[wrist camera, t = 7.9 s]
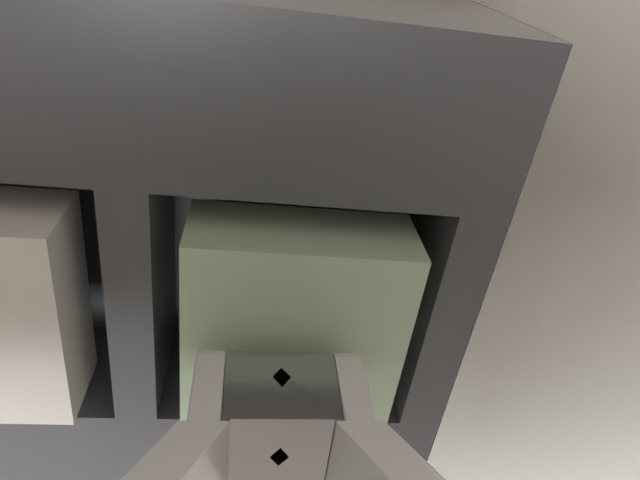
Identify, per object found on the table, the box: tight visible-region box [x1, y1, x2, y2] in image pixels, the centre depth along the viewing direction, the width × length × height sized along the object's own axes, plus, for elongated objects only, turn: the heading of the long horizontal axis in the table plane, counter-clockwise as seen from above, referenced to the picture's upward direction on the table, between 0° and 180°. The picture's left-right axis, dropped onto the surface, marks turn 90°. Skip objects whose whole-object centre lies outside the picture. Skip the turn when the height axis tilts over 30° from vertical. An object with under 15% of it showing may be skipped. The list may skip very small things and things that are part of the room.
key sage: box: [179, 199, 432, 423], centre depth 11 cm, size 4×4×2 cm
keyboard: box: [0, 0, 573, 480], centre depth 12 cm, size 21×12×5 cm, turn 82°
